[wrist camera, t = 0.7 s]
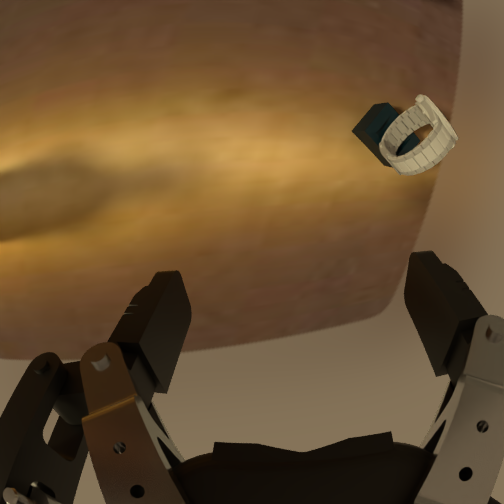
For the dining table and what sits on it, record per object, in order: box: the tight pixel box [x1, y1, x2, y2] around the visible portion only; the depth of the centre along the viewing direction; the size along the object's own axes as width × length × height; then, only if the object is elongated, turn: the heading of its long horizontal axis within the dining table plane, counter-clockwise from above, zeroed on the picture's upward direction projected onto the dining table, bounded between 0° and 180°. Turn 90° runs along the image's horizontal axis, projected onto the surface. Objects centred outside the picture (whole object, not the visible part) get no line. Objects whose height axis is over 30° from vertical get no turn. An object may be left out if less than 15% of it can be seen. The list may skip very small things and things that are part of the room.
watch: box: [352, 94, 458, 175], centre depth 24 cm, size 6×8×11 cm
